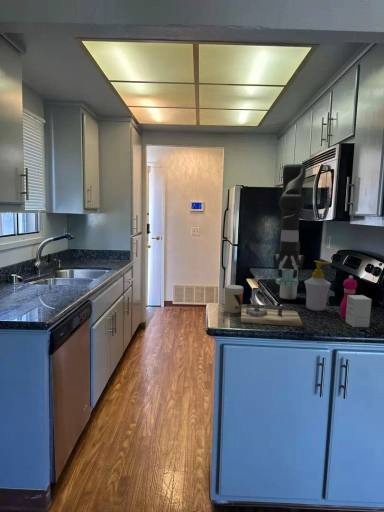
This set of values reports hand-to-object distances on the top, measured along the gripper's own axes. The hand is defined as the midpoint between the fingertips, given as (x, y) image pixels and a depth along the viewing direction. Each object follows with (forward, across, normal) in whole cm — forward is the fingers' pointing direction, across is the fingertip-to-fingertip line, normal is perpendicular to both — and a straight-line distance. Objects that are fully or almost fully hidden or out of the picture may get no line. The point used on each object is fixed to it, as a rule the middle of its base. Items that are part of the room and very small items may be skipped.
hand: (287, 277), depth 157 cm
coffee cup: (+20, +24, -10) cm, 32 cm away
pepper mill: (+20, -30, -10) cm, 38 cm away
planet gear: (+3, 0, 0) cm, 3 cm away
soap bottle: (+20, -18, -21) cm, 34 cm away
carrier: (+20, +7, 0) cm, 21 cm away
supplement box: (+20, -31, 0) cm, 37 cm away
